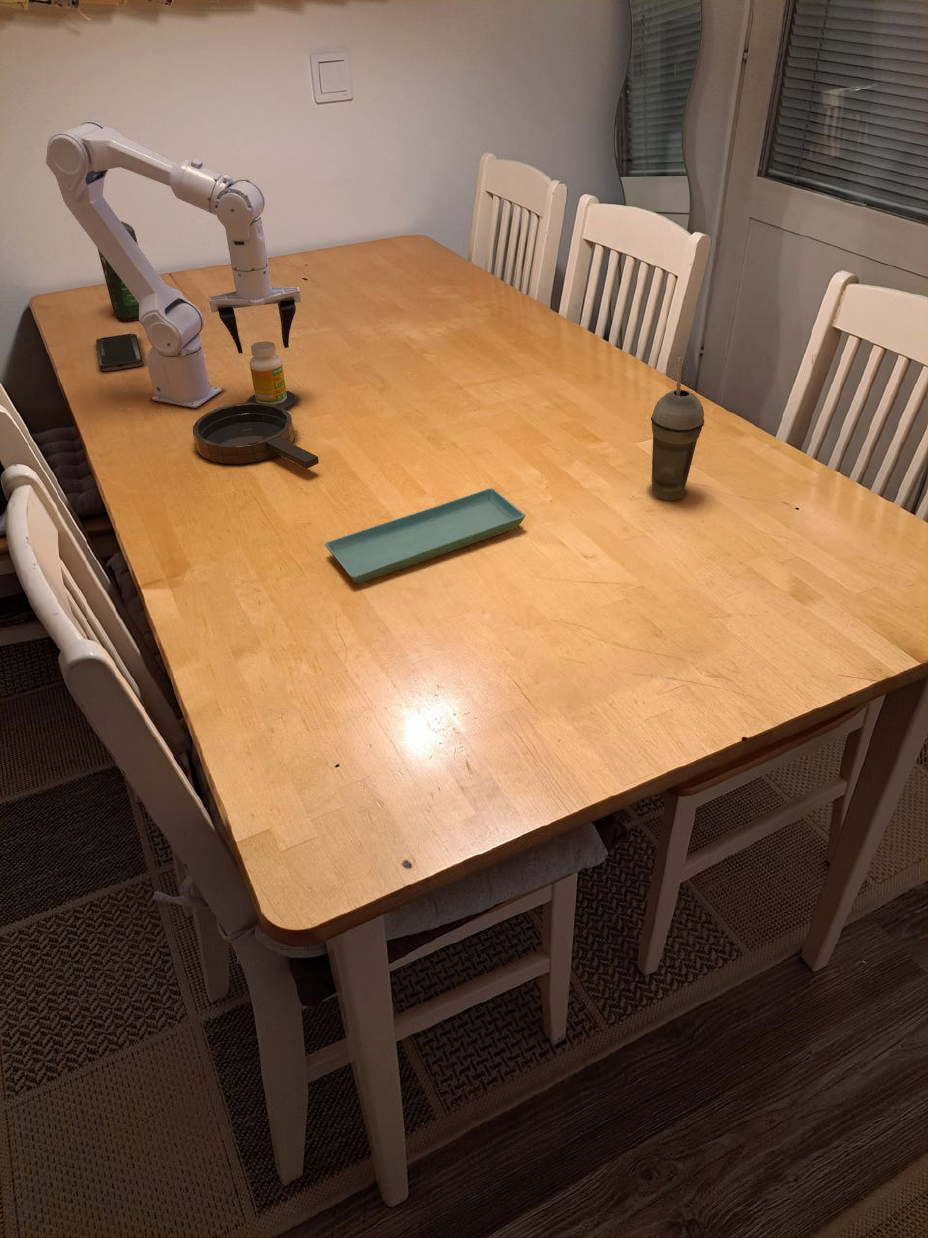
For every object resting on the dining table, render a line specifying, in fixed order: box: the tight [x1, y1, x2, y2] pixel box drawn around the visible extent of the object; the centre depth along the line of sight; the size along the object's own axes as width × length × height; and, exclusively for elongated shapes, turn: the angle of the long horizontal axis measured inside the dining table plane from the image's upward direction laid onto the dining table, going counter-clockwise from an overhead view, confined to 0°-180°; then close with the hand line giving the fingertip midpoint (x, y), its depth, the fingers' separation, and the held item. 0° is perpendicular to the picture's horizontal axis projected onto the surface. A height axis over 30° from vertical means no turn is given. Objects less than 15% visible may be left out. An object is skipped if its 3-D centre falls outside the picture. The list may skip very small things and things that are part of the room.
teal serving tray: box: [324, 487, 526, 585], centre depth 122 cm, size 26×9×2 cm, turn 120°
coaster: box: [246, 390, 297, 411], centre depth 158 cm, size 8×8×1 cm
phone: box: [95, 333, 144, 373], centre depth 176 cm, size 8×1×15 cm
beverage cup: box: [650, 356, 705, 501], centre depth 126 cm, size 7×7×20 cm
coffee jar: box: [96, 220, 139, 321], centre depth 188 cm, size 10×8×19 cm
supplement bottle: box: [249, 340, 287, 405], centre depth 155 cm, size 5×5×10 cm
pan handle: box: [266, 437, 320, 470], centre depth 139 cm, size 10×2×1 cm, turn 47°
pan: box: [192, 402, 295, 465], centre depth 146 cm, size 16×16×3 cm
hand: (263, 348), depth 153 cm, fingers open, 7 cm apart
